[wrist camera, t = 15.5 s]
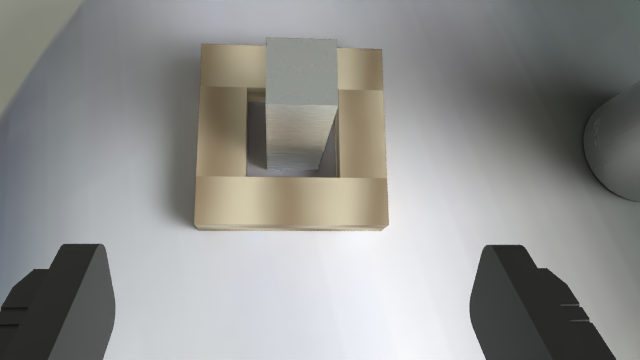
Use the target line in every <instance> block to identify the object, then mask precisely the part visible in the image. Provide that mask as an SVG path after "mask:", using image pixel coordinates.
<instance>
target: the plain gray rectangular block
mask: <svg viewBox="0 0 640 360" xmlns="http://www.w3.org/2000/svg"><path fill="white" fill-rule="evenodd" d="M337 108H338V68H337V40H331V39H297V38H266V145H267V170H318V167H319V164H320V161H321V158H322V155H323V152H324V149H325V146H326V142H327V139H328V136H329V133H330V130H331V127H332V124H333V121H334V118H335V114H336V111H337Z"/></svg>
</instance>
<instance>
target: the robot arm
mask: <svg viewBox="0 0 640 360" xmlns="http://www.w3.org/2000/svg"><path fill="white" fill-rule="evenodd" d="M584 150H585V155H586V159H587V161H588V163H589V166H590V168H591V170H592V171H593V173H594V174H595V176H596V177H597V178H598V180H599V181H600V182H601V183H602V184H603V185H604V186H605V187H606V188H608V189H609V190H611V191H612V192H614V193H615V194H617V195H619V196H621V197H623V198H626V199H628V200H633V201H638V202H640V81H638V82H637V83H635V84H634V85H632V86H630V87H629V88H627V89H626V90H624V91H623V92H621V93H619V94H618V95H616V96H615V97H613V98H612V99H610V100H609V101H607V102H605V103H604V104H603V105H601V106H600V107H599V108H597V109H596V110H595V111H594V113H593V114H592V115H591V116H590V118H589V120H588V122H587V125H586V127H585V132H584ZM470 318H471V323H472V326H473V329H474V331H475V334H476V336H477V339H478V341H479V344H480V346H481V349H482V351H483V353H484V356H485V358H486V360H616V358H615V357H614V355H613V354H612V352H611V351H610V349H609V348H608V346H607V345H606V343H605V342H604V340H603V339H602V337H601V335H600V334H599V332H598V331H597V329H596V328H595V326H594V325H593V323H590V322H589V317H588V316H587V314H586V313H585V311H584V310H583V308H582V307H579V302H578V301H577V299H576V298H575V296H574V295H573V293H572V291H571V290H570V288H569V287H568V285H567V284H566V283H564V282H563V281H562V280H561V279H559V278H558V277H557V276H556V275H555V274H553V273H552V272H551V271H550V270H548V269H547V268H537V266H536V265H535V263H534V261H533V260H532V258H531V257H530V255H529V253H528V252H527V250H526V249H525V247H523V246H522V245H486V246H485V247H484V249H483V251H482V254H481V258H480V262H479V266H478V269H477V273H476V277H475V281H474V285H473V289H472V293H471V297H470ZM114 320H115V297H114V292H113V286H112V281H111V275H110V270H109V264H108V259H107V253H106V249H105V247H104V245H103V244H63V245H62V246H61V247H60V249H59V251H58V253H57V255H56V256H55V258H54V260H53V262H52V264H51V266H50V268H49V269H34V270H33V271H32V272H30V273H29V274H28V275H27V276H26V277H24V278H23V279H22V280H21V281H20V282H18V283H17V284H16V285H15V286H14V287H13V288H12V290H11V291H10V293H9V295H8V297H7V298H6V300H5V302H4V303H3V305H2V307H1V312H0V360H103V357H104V354H105V351H106V348H107V345H108V342H109V339H110V336H111V333H112V330H113V326H114Z"/></svg>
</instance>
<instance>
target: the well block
mask: <svg viewBox="0 0 640 360" xmlns="http://www.w3.org/2000/svg"><path fill="white" fill-rule="evenodd" d="M337 68H338V108H337V111H336V114H335V118H334V123H335V178H320V177H247V140H248V102H266V46H260V45H227V44H202V51H201V74H200V97H199V120H198V143H197V167H196V190H195V213H194V225H195V226H196V227H197V228H198V230H199V231H381V230H383V229H384V228H385V227H387V226H388V225H389V216H388V192H387V168H386V143H385V119H384V95H383V70H382V49H358V48H337Z"/></svg>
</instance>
